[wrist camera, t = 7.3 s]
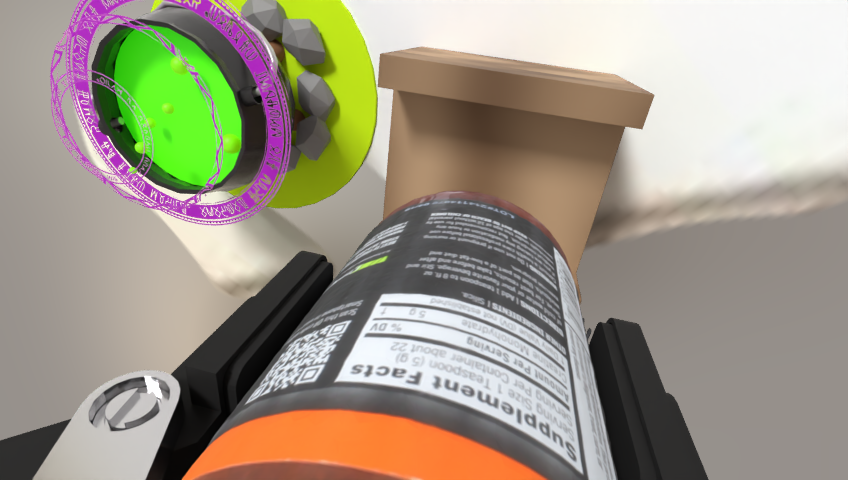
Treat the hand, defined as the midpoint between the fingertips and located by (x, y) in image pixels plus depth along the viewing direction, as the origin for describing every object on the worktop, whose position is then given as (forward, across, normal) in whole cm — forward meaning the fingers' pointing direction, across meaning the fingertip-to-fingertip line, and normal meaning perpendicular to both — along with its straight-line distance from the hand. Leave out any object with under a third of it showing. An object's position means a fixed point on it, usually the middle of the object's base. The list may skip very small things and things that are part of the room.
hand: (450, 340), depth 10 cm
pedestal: (+17, 0, 0) cm, 17 cm away
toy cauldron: (+17, +15, -1) cm, 22 cm away
